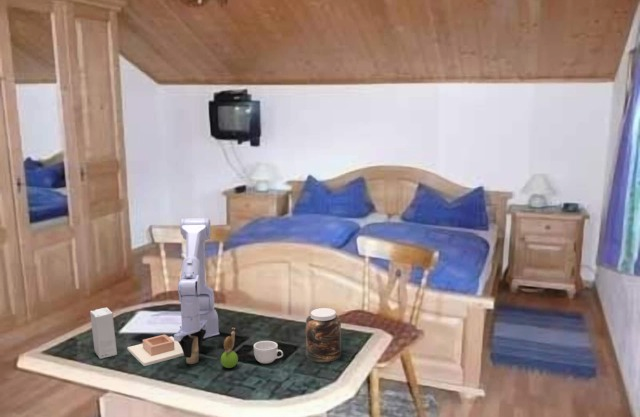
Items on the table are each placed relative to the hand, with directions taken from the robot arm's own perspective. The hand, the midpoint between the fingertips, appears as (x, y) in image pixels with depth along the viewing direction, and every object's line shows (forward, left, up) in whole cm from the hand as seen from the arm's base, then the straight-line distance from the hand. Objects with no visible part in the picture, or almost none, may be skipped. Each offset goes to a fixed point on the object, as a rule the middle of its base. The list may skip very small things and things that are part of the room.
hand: (192, 354), depth 188 cm
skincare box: (+21, -24, -3) cm, 32 cm away
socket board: (+6, -14, -2) cm, 15 cm away
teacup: (-20, +15, -3) cm, 25 cm away
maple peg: (0, 0, -2) cm, 2 cm away
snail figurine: (-8, +11, -3) cm, 14 cm away
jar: (-37, +22, -3) cm, 43 cm away
